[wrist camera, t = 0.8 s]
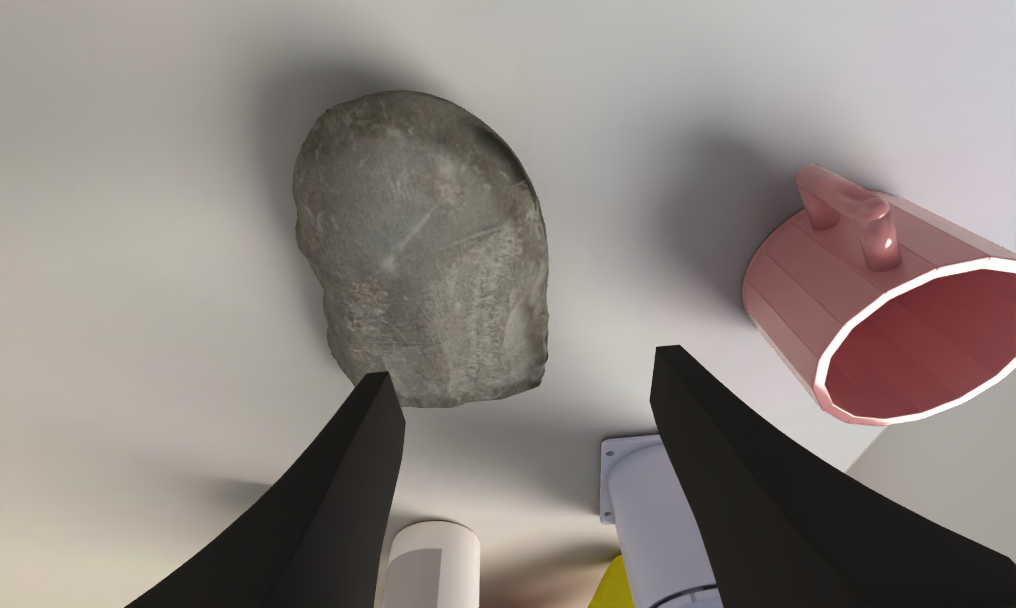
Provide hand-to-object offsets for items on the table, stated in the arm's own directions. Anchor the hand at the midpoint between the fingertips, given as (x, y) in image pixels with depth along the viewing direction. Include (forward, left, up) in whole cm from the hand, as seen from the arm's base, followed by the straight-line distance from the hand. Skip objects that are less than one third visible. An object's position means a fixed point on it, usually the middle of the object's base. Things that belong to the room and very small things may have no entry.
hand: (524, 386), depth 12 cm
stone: (-1, +4, -10) cm, 11 cm away
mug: (-3, -15, -10) cm, 18 cm away
